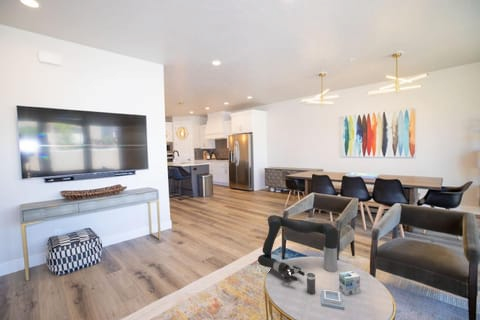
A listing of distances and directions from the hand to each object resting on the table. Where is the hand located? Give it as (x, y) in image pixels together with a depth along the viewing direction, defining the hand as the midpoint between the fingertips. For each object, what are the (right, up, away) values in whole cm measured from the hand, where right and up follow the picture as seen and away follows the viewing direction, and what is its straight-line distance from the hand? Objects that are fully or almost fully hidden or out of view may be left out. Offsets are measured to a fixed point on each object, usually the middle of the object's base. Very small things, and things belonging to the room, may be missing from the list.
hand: (300, 276), depth 146 cm
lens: (+5, -7, -6) cm, 10 cm away
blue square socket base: (+15, -7, -14) cm, 22 cm away
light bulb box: (+30, -6, -6) cm, 31 cm away
